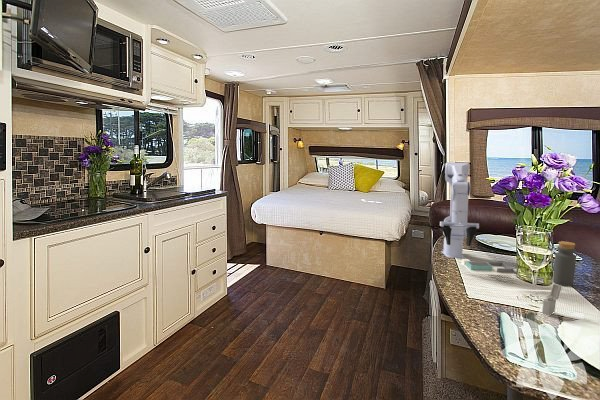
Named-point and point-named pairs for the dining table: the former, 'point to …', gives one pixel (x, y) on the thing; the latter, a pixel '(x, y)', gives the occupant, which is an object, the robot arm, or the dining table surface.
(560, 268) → the bottle
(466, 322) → the dining table surface
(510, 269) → the board
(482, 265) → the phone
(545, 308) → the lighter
